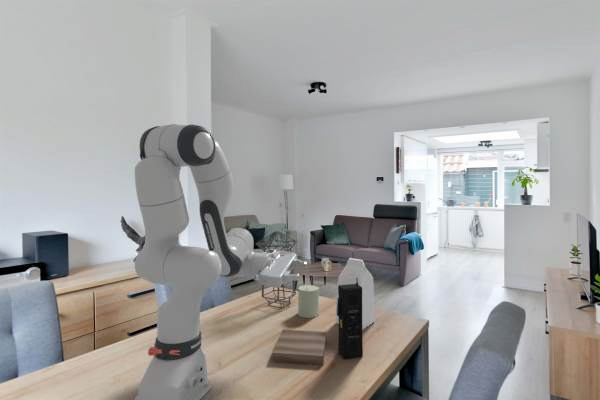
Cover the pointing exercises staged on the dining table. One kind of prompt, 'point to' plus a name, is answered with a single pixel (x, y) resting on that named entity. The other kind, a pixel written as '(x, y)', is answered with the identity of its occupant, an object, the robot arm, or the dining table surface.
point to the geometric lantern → (281, 250)
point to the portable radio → (350, 320)
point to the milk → (365, 280)
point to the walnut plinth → (300, 347)
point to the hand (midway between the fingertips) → (302, 271)
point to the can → (308, 301)
